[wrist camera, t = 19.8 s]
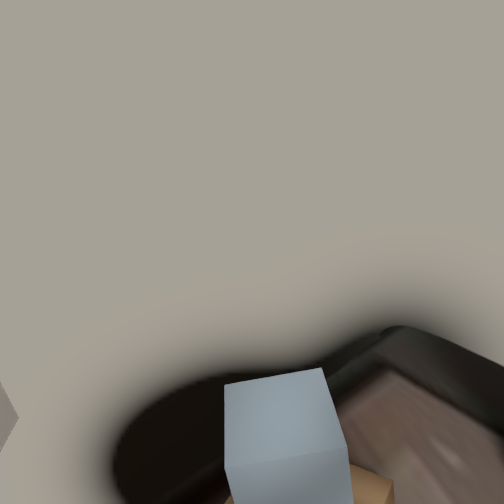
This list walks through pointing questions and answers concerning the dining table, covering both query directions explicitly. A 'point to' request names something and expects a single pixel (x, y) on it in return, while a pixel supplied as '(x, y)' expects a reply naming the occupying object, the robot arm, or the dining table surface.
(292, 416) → the slate block
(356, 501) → the walnut block
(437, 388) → the dining table surface
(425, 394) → the dining table surface
